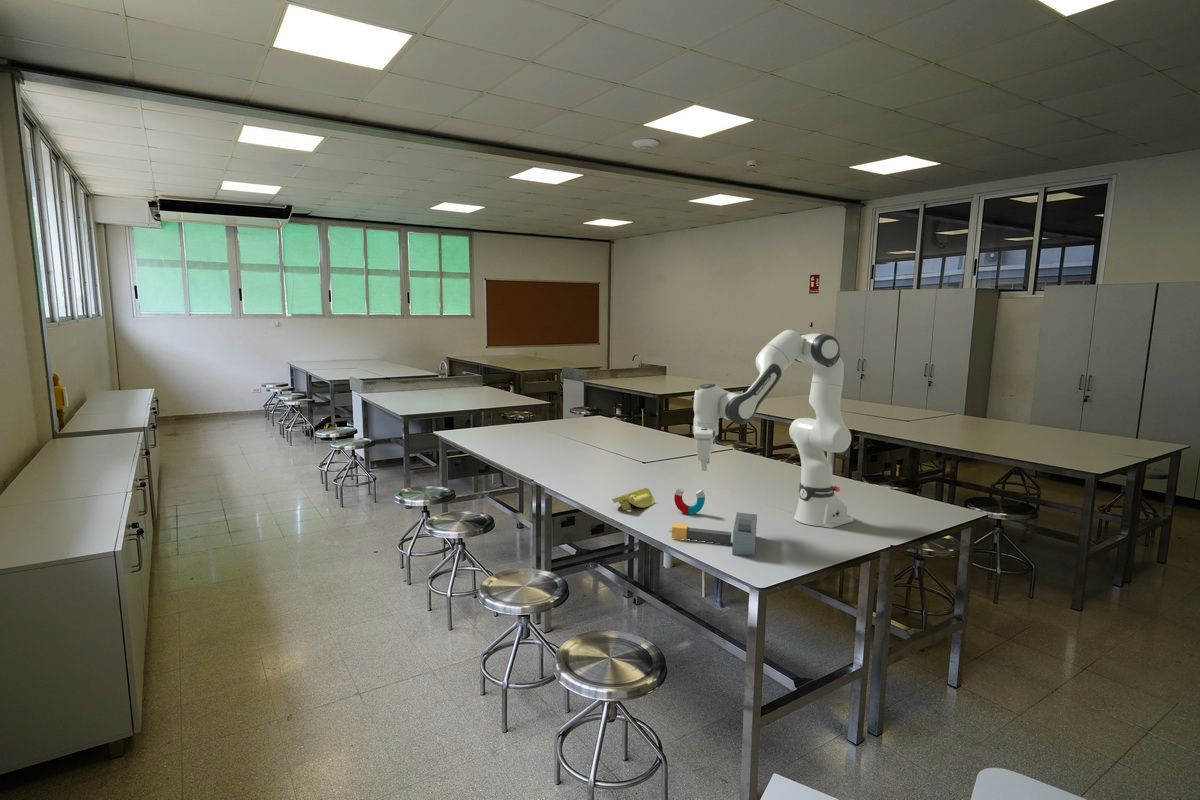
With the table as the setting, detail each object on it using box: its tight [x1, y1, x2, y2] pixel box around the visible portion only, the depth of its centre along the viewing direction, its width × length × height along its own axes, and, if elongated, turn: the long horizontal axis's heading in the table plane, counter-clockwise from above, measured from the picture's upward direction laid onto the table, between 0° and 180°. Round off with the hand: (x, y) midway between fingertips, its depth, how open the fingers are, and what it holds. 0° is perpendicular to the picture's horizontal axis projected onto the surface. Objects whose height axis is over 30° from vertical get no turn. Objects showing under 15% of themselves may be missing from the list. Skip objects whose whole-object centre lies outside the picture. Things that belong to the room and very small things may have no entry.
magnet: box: [673, 486, 706, 515], centre depth 237 cm, size 12×3×10 cm, turn 73°
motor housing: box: [731, 512, 758, 558], centre depth 204 cm, size 7×20×10 cm, turn 164°
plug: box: [668, 522, 733, 546], centre depth 209 cm, size 21×4×4 cm, turn 74°
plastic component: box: [611, 487, 655, 511], centre depth 245 cm, size 20×7×10 cm
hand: (705, 466), depth 217 cm, fingers open, 8 cm apart
